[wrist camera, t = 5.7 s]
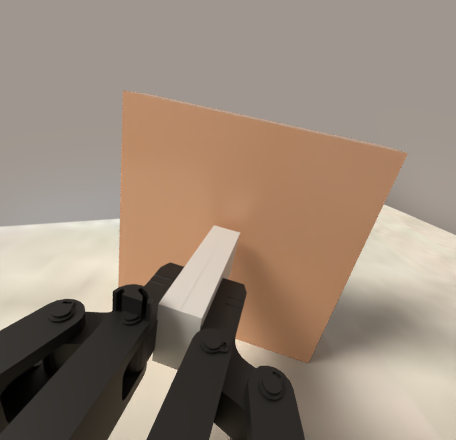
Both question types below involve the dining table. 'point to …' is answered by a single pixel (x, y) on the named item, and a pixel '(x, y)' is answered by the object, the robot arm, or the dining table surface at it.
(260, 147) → the standing tile
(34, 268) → the dining table surface
